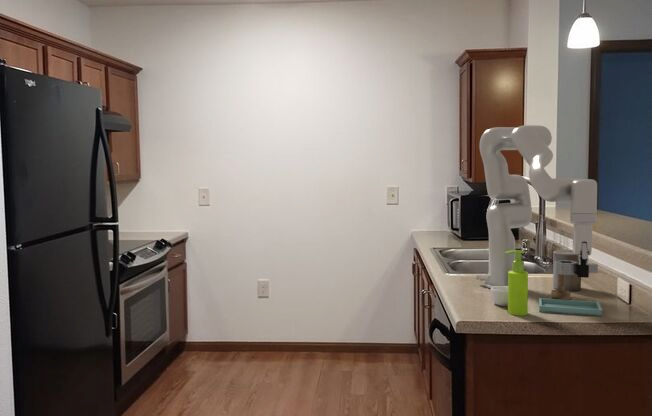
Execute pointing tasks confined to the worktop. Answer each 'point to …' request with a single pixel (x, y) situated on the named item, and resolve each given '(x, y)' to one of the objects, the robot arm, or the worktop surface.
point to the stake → (560, 290)
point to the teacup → (500, 295)
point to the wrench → (571, 267)
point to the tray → (570, 307)
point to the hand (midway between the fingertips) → (582, 275)
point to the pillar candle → (570, 280)
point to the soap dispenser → (517, 286)
